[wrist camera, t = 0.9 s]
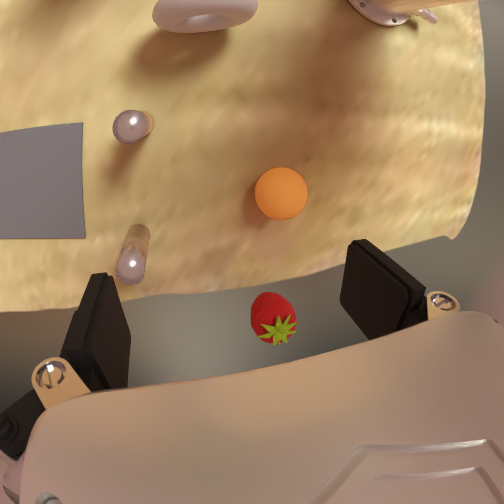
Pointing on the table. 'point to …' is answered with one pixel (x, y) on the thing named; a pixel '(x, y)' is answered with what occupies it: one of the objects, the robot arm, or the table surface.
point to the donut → (202, 14)
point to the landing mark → (42, 183)
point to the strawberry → (272, 318)
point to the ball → (281, 193)
